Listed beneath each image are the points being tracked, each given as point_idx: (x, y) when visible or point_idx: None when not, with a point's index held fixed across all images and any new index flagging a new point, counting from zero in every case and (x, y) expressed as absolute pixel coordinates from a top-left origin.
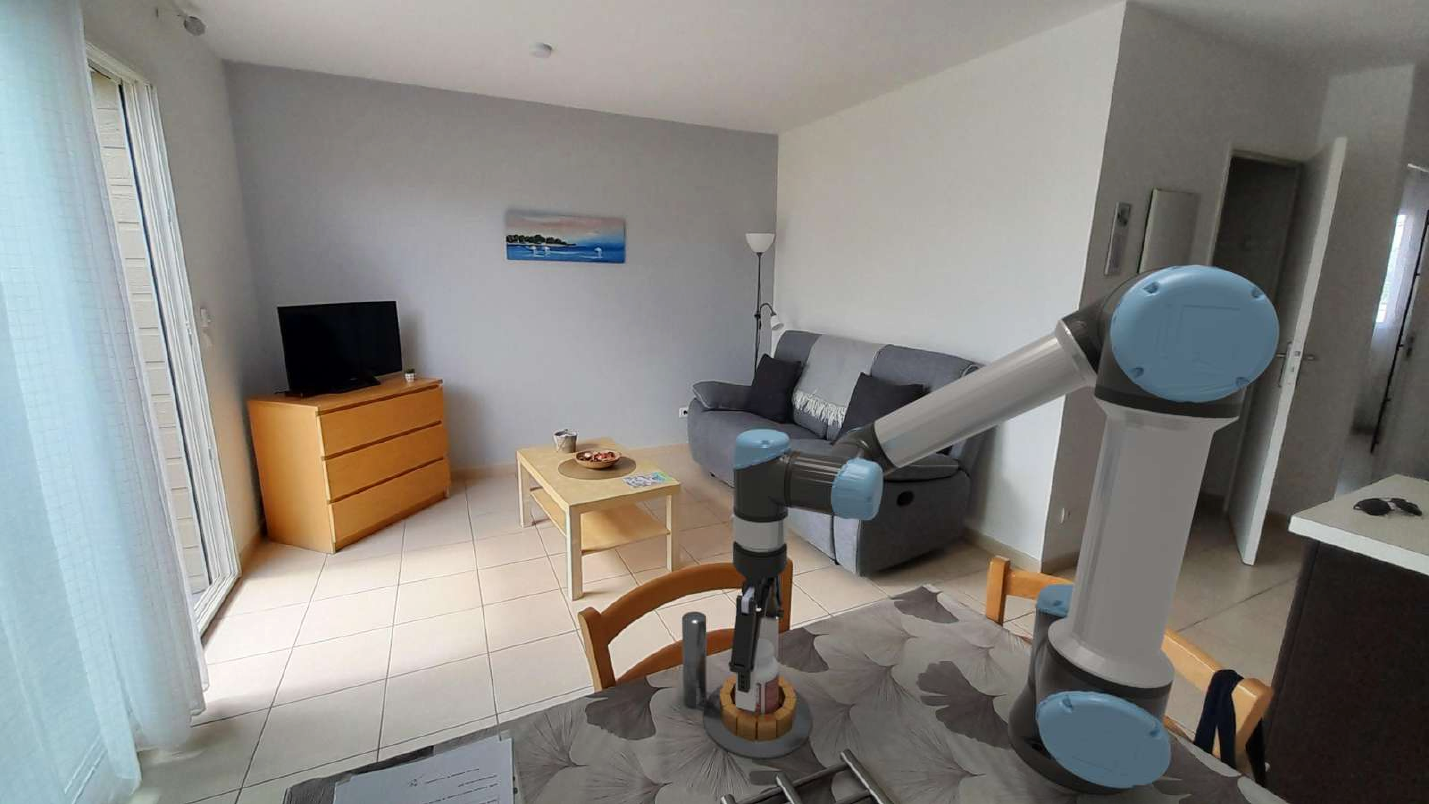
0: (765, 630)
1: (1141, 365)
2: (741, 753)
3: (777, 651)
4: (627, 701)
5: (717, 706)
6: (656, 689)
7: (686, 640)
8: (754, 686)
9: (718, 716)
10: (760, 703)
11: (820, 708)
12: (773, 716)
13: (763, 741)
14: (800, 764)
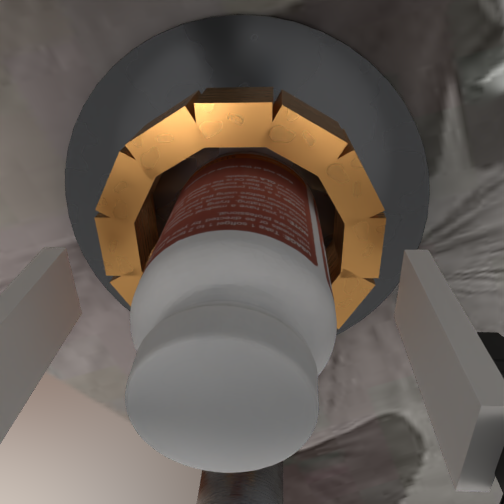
0: (11, 390)
1: None
2: (426, 213)
3: (35, 264)
4: (311, 485)
5: None
6: None
7: None
8: (469, 324)
9: None
10: (319, 233)
11: (105, 3)
12: (331, 166)
13: (363, 165)
14: (413, 13)
